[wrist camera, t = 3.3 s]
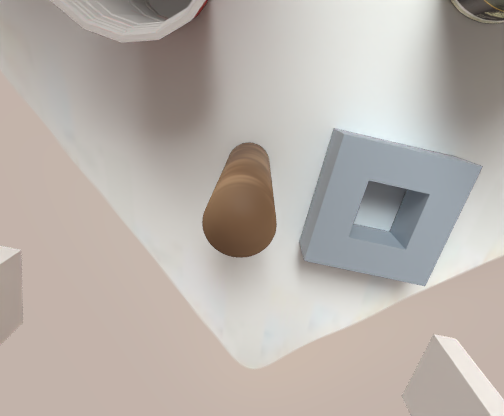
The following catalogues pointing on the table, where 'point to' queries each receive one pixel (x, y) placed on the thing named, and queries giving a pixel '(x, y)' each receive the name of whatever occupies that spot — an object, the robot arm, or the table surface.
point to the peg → (242, 204)
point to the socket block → (409, 214)
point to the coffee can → (482, 10)
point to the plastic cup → (131, 17)
